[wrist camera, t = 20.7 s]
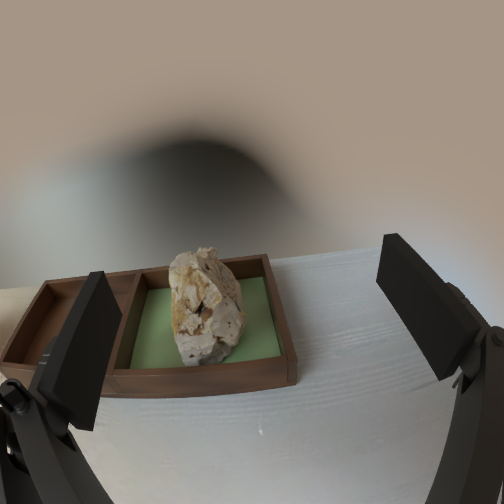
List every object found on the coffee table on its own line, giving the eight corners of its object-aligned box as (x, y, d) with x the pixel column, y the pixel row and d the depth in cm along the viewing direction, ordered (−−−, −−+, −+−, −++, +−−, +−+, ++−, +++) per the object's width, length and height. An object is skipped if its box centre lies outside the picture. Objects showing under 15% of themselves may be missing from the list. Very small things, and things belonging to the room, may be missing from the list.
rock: (255, 372, 23) (224, 260, 21) (182, 381, 24) (143, 277, 21) (255, 312, 35) (236, 232, 33) (204, 322, 35) (181, 245, 33)
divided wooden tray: (268, 278, 38) (267, 253, 36) (296, 384, 24) (297, 360, 22) (55, 300, 37) (45, 280, 35) (13, 386, 22) (-4, 365, 20)
